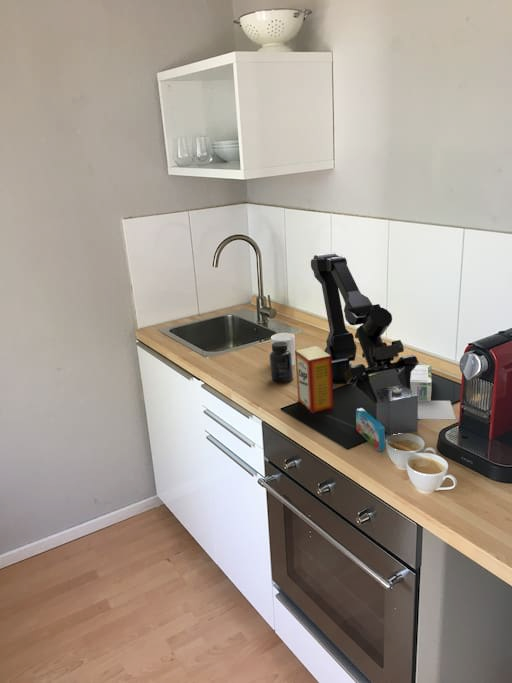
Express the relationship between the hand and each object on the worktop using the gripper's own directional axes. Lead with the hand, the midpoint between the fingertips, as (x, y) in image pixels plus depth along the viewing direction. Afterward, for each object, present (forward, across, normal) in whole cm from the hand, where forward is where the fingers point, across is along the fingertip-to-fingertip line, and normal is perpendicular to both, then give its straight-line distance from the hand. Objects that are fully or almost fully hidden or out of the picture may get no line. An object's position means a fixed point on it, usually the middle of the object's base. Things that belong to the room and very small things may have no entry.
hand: (392, 399), depth 145 cm
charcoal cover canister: (+7, 0, +4) cm, 8 cm away
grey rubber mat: (+3, +13, +7) cm, 15 cm away
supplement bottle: (-24, -16, +35) cm, 45 cm away
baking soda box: (-9, -13, +19) cm, 25 cm away
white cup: (-32, -11, +43) cm, 55 cm away
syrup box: (-11, +20, +18) cm, 29 cm away
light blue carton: (+8, -8, +2) cm, 12 cm away
